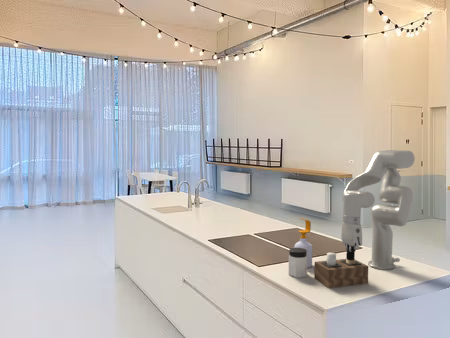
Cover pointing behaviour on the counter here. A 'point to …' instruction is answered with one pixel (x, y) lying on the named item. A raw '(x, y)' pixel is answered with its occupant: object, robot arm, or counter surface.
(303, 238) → the soap bottle
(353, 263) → the oak peg
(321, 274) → the walnut block
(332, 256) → the white peg
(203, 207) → the counter surface
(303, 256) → the jar
